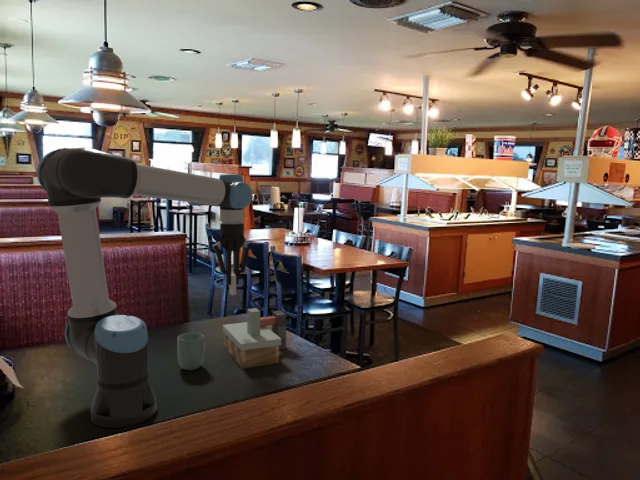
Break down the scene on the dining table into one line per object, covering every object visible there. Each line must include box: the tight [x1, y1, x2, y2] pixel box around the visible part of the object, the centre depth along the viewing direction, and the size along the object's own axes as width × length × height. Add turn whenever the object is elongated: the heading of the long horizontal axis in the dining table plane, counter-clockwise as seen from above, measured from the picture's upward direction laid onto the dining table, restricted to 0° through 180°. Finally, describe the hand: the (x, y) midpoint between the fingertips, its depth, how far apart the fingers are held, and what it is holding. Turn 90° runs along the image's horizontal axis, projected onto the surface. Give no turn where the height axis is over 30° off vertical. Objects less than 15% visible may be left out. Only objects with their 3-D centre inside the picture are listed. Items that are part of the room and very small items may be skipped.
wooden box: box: [223, 310, 287, 370], centre depth 162 cm, size 20×19×12 cm
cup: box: [176, 332, 205, 371], centre depth 149 cm, size 8×8×10 cm
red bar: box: [260, 315, 287, 327], centre depth 167 cm, size 2×12×2 cm, turn 116°
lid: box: [222, 307, 281, 351], centre depth 160 cm, size 21×13×12 cm, turn 27°
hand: (232, 294), depth 160 cm, fingers closed
